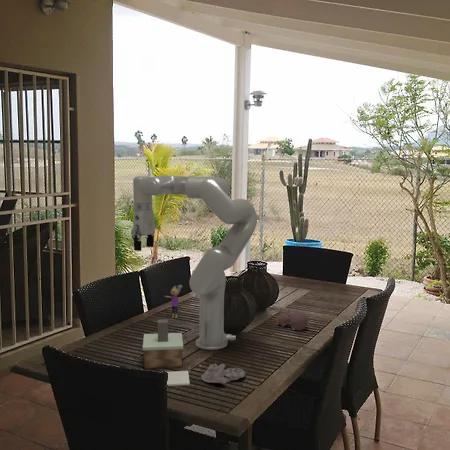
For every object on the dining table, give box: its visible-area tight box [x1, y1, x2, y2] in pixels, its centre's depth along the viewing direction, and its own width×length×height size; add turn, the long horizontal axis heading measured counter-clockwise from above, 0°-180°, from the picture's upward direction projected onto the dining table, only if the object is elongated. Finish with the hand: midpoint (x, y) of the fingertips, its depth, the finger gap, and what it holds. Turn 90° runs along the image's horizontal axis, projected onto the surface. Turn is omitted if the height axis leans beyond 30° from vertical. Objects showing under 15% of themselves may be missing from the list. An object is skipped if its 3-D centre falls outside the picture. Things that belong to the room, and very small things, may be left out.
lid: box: [142, 318, 184, 351], centre depth 191 cm, size 14×14×8 cm
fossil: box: [200, 363, 246, 385], centre depth 179 cm, size 17×4×15 cm
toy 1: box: [164, 284, 186, 319], centre depth 243 cm, size 10×6×15 cm, turn 68°
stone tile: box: [166, 370, 191, 387], centre depth 177 cm, size 10×10×1 cm
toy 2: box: [276, 311, 309, 331], centre depth 230 cm, size 8×8×15 cm
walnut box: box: [143, 349, 183, 370], centre depth 192 cm, size 13×13×7 cm
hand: (144, 248), depth 217 cm, fingers open, 9 cm apart
